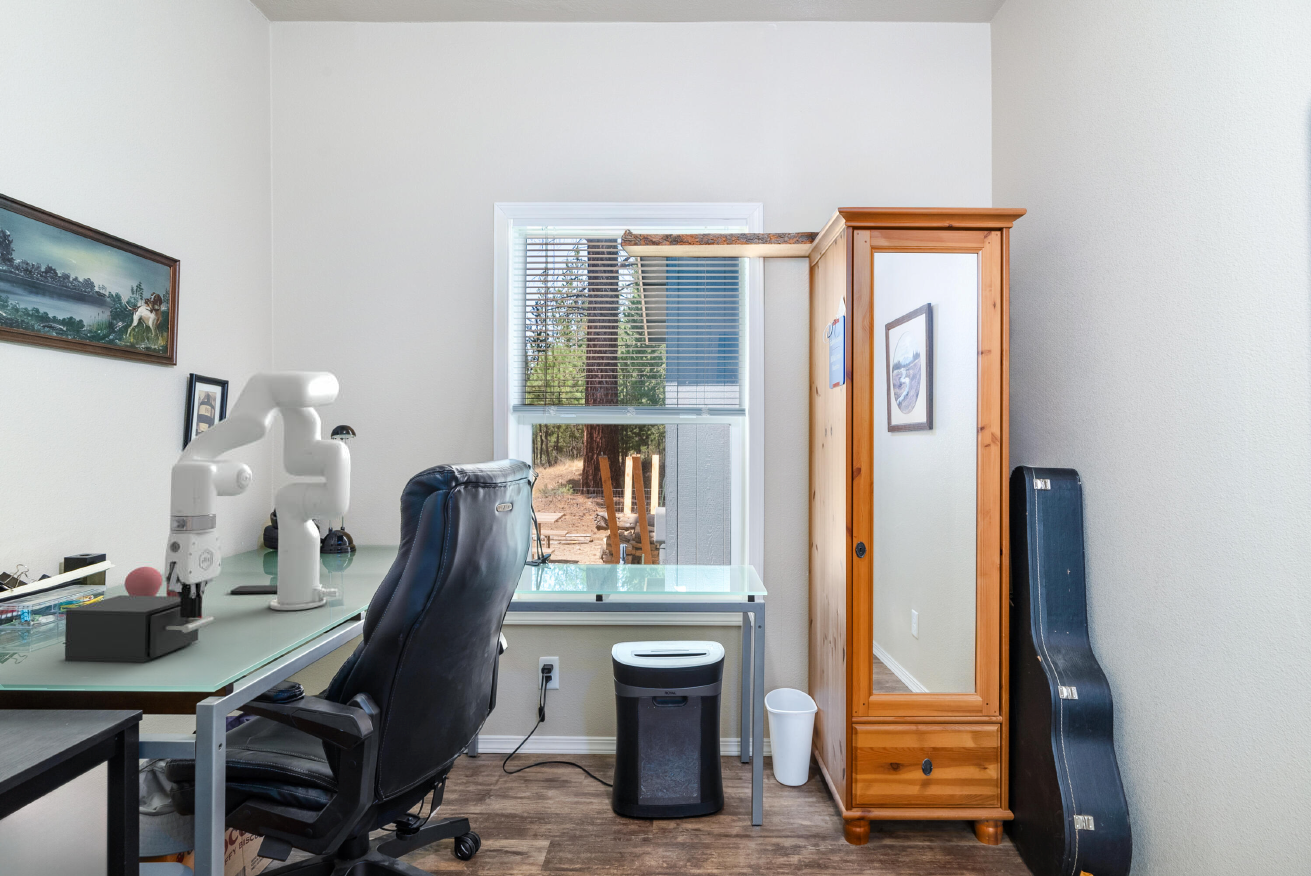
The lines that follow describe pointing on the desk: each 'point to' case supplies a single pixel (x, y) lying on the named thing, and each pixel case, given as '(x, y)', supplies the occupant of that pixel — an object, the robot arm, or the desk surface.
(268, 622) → the desk surface
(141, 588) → the light bulb
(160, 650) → the drawer
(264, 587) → the phone
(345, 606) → the desk surface
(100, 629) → the cabinet
